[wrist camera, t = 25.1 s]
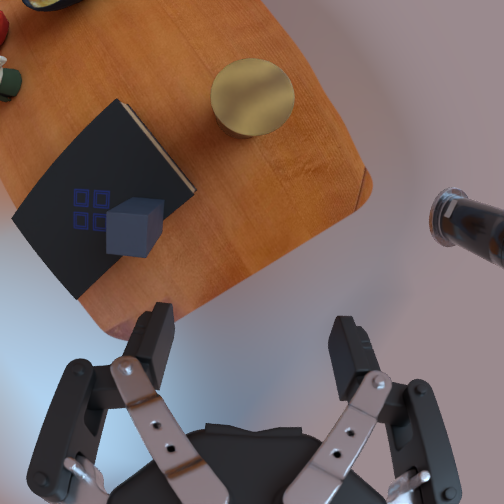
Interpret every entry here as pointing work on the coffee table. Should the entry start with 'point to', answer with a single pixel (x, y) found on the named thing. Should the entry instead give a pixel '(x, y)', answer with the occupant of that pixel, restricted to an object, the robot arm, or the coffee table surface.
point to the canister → (251, 98)
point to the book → (96, 194)
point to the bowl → (49, 4)
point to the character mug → (8, 81)
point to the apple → (3, 27)
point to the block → (134, 227)
